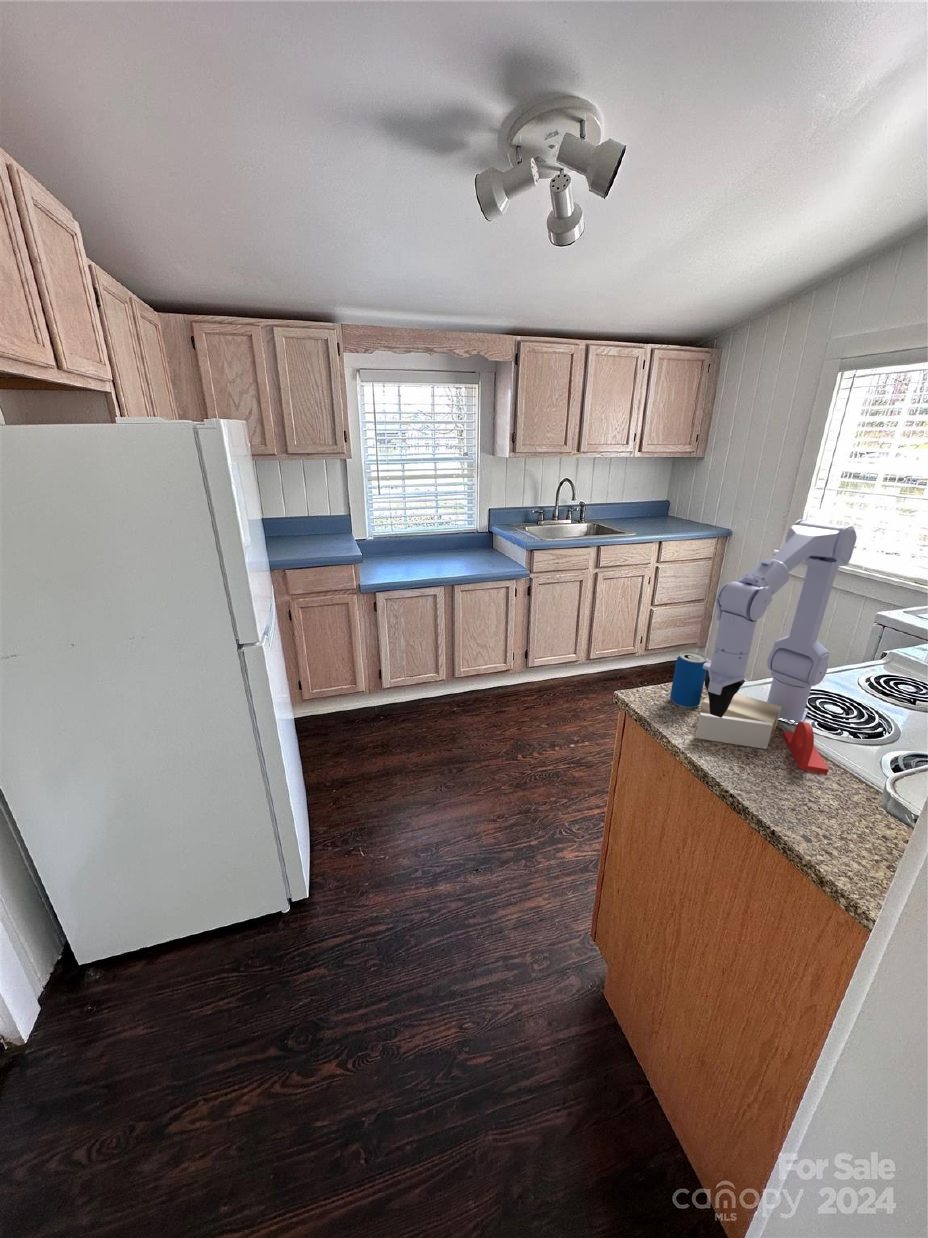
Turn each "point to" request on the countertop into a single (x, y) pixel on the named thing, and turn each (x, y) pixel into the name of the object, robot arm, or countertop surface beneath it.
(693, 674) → the beverage can
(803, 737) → the bracket
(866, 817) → the countertop surface
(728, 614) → the robot arm
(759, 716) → the cream rectangular block
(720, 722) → the door
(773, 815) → the countertop surface
